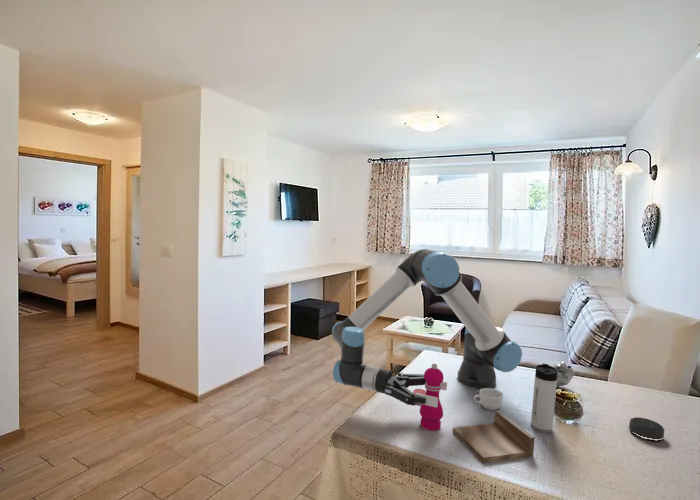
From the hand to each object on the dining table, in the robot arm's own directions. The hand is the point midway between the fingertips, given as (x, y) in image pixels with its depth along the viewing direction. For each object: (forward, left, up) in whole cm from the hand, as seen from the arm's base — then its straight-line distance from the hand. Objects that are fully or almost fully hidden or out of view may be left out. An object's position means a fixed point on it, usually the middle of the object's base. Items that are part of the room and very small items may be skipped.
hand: (442, 394), depth 126 cm
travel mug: (-33, +6, -11) cm, 35 cm away
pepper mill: (+2, -2, -11) cm, 12 cm away
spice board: (-11, +11, -11) cm, 19 cm away
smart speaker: (-64, +16, -11) cm, 67 cm away
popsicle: (-3, -19, -12) cm, 23 cm away
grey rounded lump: (-64, -20, -11) cm, 68 cm away
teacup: (-24, -10, -11) cm, 28 cm away
